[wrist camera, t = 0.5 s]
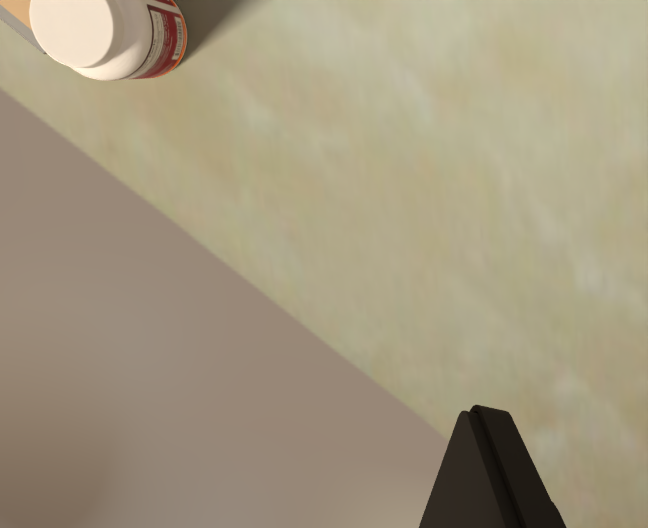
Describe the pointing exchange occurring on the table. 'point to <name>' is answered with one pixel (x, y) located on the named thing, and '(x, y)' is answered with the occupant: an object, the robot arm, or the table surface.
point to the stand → (19, 19)
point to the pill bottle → (111, 36)
